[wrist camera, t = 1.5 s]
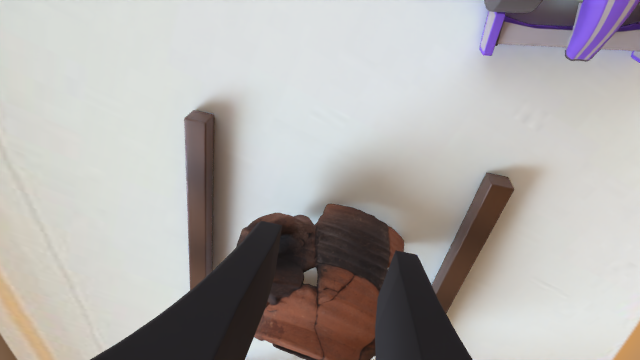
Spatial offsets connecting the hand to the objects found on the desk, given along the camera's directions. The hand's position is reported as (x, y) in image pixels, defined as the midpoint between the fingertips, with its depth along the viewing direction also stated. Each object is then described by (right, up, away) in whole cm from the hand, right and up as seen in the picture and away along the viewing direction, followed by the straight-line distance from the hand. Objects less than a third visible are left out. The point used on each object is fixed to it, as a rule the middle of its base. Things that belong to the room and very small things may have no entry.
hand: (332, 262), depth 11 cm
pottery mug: (0, -2, +14) cm, 14 cm away
